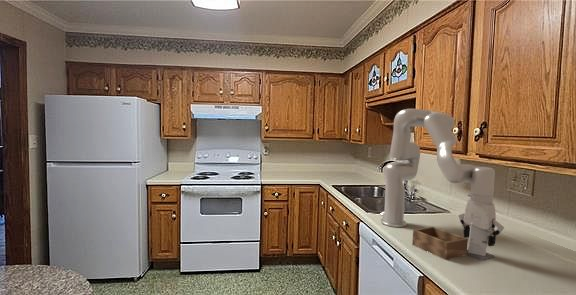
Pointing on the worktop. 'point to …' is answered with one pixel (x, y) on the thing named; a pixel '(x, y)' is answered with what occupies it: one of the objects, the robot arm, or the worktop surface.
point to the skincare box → (477, 241)
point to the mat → (480, 256)
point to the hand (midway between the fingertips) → (478, 241)
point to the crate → (440, 242)
